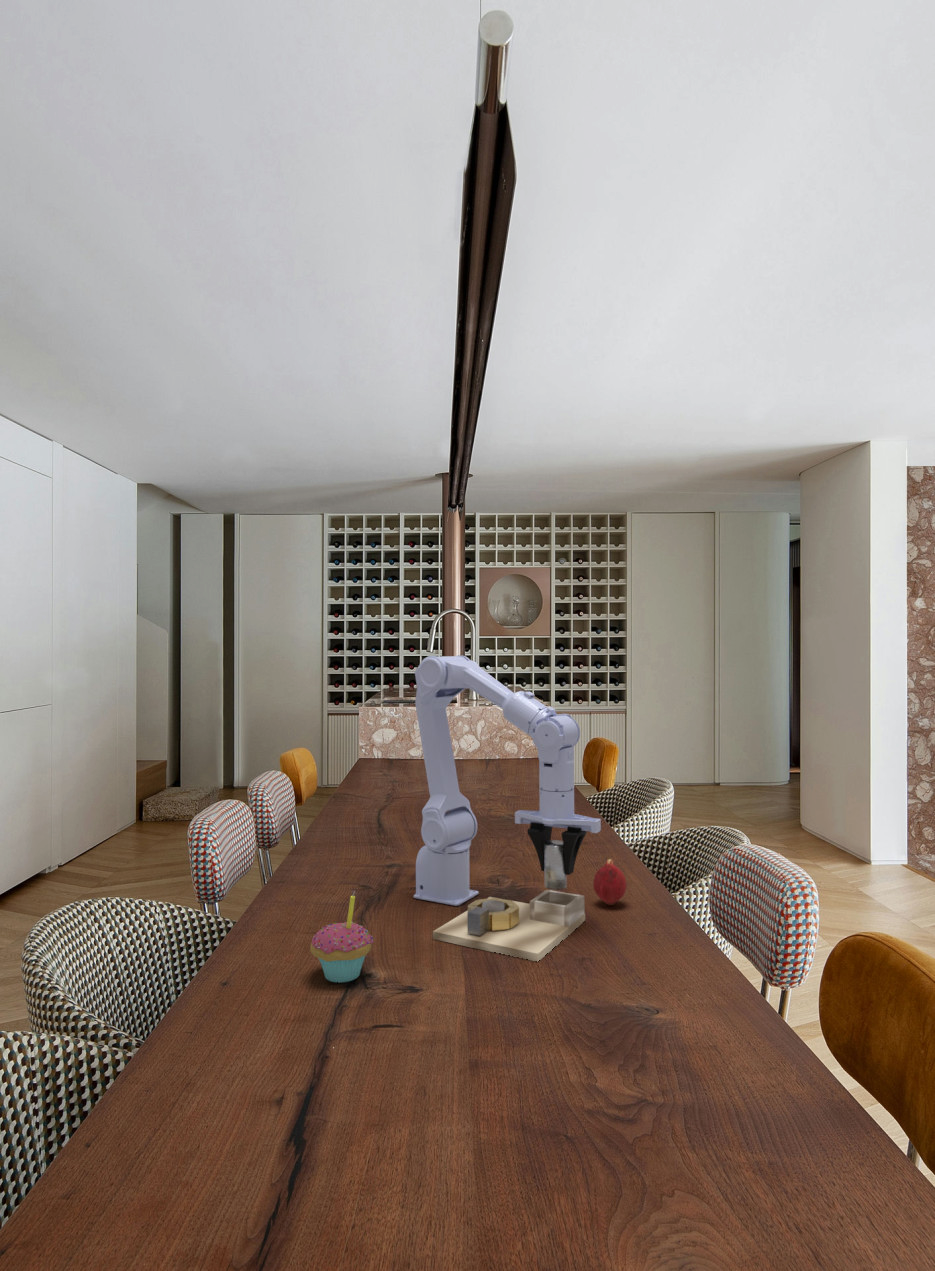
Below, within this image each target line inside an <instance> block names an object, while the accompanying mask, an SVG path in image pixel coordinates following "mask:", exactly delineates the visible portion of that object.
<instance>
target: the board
mask: <svg viewBox="0 0 935 1271" xmlns="http://www.w3.org/2000/svg"><path fill="white" fill-rule="evenodd" d="M489 898H495V899H496V898H497V897H495V896H494V897H493V896H488V897H487V898H486V899H489ZM499 899H501V898H499ZM509 900H510V901H512V900H511V899H509ZM513 901H514V902H515V903H516V904H517V905H518V906H519V923H518V924H517V925H515V926H514V927H512V928H509V929H505V930H495V931H492V930H490V931H489V930H488V931H486V932H485V933H483V934H482V935H481V936H478V935H473V934H469V933H468V918H467V912H468V909H467V910H466V911H464V912H462V913H461V914H459V915H457V916H456V917H453V918H452V919H451V920H449V921H448V922H446V923H444V924H443V925H442V926H439V927H438V928H436V929H435V930H433V931H432V940H434V941H439V942H444V943H450V944H454V945H458V946H463V947H467V948H472V949H477V950H480V951H481V950H482V951H485V952H491V953H494V952H496V953H495V954H499V953H501V954H500V955H503V954H505V955H504V956H508V955H510V956H509V957H512V956H513V958H517V957H519V958H518V959H522V958H523V960H526V959H528V960H527V961H530V962H531V961H532V962H535V961H537V963H539V962H540V961H541V960H543V958H545V957H546V956H547V955H548V954H549V953H551V952H552V949H553V948H554V947H555V946H556V947H557V946H558V945H559V944H561V943H562V942H563V941H564V940H566V939H567V938H568V937H569V936H570V935H571V934H572V933H573V932H574V931H575V929H576V928H577V929H578V928H579V927H580V926H581V925H582V924H584V923H585V922H586V913H585V895H584V894H583V895H582V894H576V893H571V892H565V891H558V890H553V889H545V890H544V891H543V892H541V893H539V894H538V895H537V896H535V897H534V898H532V899H531V900H529V903H527V902H523V901H522V902H521V901H515V900H513ZM482 908H486V909H489V912H498V911H504V903H503V902H502V901H497V900H489V901H485V902H483V903H482ZM584 921H585V922H584ZM583 922H584V923H583ZM577 929H576V930H577ZM568 935H569V936H568ZM562 940H563V941H562ZM561 941H562V942H561ZM560 942H561V943H560ZM556 947H555V948H556ZM555 948H554V949H555ZM554 949H553V950H554ZM547 953H548V954H547ZM546 954H547V955H546ZM545 955H546V956H545ZM539 960H540V961H539ZM538 961H539V962H538Z"/></svg>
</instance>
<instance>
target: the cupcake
mask: <svg viewBox="0 0 935 1271" xmlns="http://www.w3.org/2000/svg"><path fill="white" fill-rule="evenodd" d="M355 894H356V891H355V890H354V891H353V893H352V895H351V896H350V897H349V898H350V899H349V905H348V913H347V921H345V922H333V923H329V924H327V925H325V926H323V927H321V928H320V929H319V930H317V931H316V933H314V935H313V937H312V939H311V943H310V949H309V951H310V953H311V955H312V956H314V957H315V958H318V960H319V962H320V964H321V965H320V966H321V967H322V971H323V974H324V978H325V979H326V980H327V981H329V982H332V983H337V982H338V983H339V984H341V983H349V982H352V981H354V980H356V979H358V977H359V976H360V975H361V971H362V967H363V964H364V961H365V959H366V956H367V955H368V954H369V953H370V952H372V948H373V946H372V945H373V943H374V938H373V935H371V934H370V931H368V929H366V928H365V927H364V926H363V925H360V924H359V923H356V922H354V921H353V918H354V917H353V916H354V908H355V901H356V896H355ZM338 983H337V984H338Z"/></svg>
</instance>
